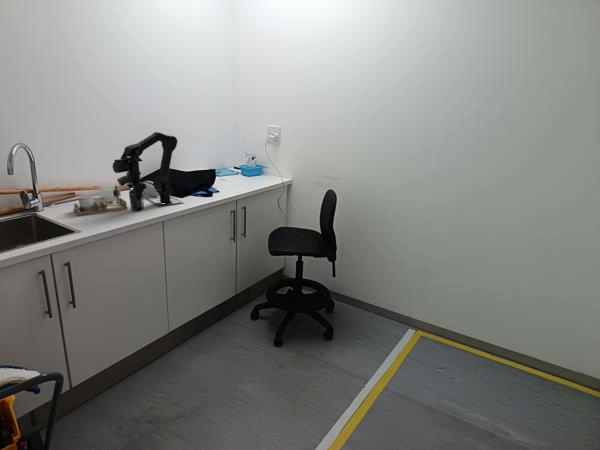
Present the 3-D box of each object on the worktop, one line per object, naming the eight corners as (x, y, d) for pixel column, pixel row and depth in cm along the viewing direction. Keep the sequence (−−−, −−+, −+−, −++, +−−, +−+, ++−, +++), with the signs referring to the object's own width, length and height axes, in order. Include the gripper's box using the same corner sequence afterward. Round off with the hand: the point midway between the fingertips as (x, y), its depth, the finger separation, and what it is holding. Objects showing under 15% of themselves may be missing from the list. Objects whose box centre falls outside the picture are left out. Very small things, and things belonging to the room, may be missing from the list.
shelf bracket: (114, 208, 225) (110, 185, 223) (99, 207, 243) (96, 186, 241) (124, 206, 228) (120, 184, 226) (109, 205, 247) (105, 185, 245)
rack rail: (127, 209, 223) (126, 196, 220) (77, 216, 208) (75, 202, 205) (122, 205, 230) (121, 192, 228) (73, 211, 215) (71, 198, 213)
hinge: (165, 196, 251) (159, 182, 246) (159, 200, 249) (153, 186, 243) (150, 191, 261) (144, 178, 255) (144, 195, 258) (138, 181, 252)
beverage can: (131, 212, 218) (128, 190, 214) (130, 208, 224) (128, 187, 220) (144, 211, 220) (142, 189, 217) (143, 207, 226) (141, 187, 222)
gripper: (112, 168, 217) (116, 196, 222) (123, 175, 203) (126, 204, 208) (134, 167, 224) (136, 194, 229) (145, 172, 210) (148, 201, 215)
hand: (136, 198), depth 220 cm, fingers closed on beverage can, 7 cm apart
